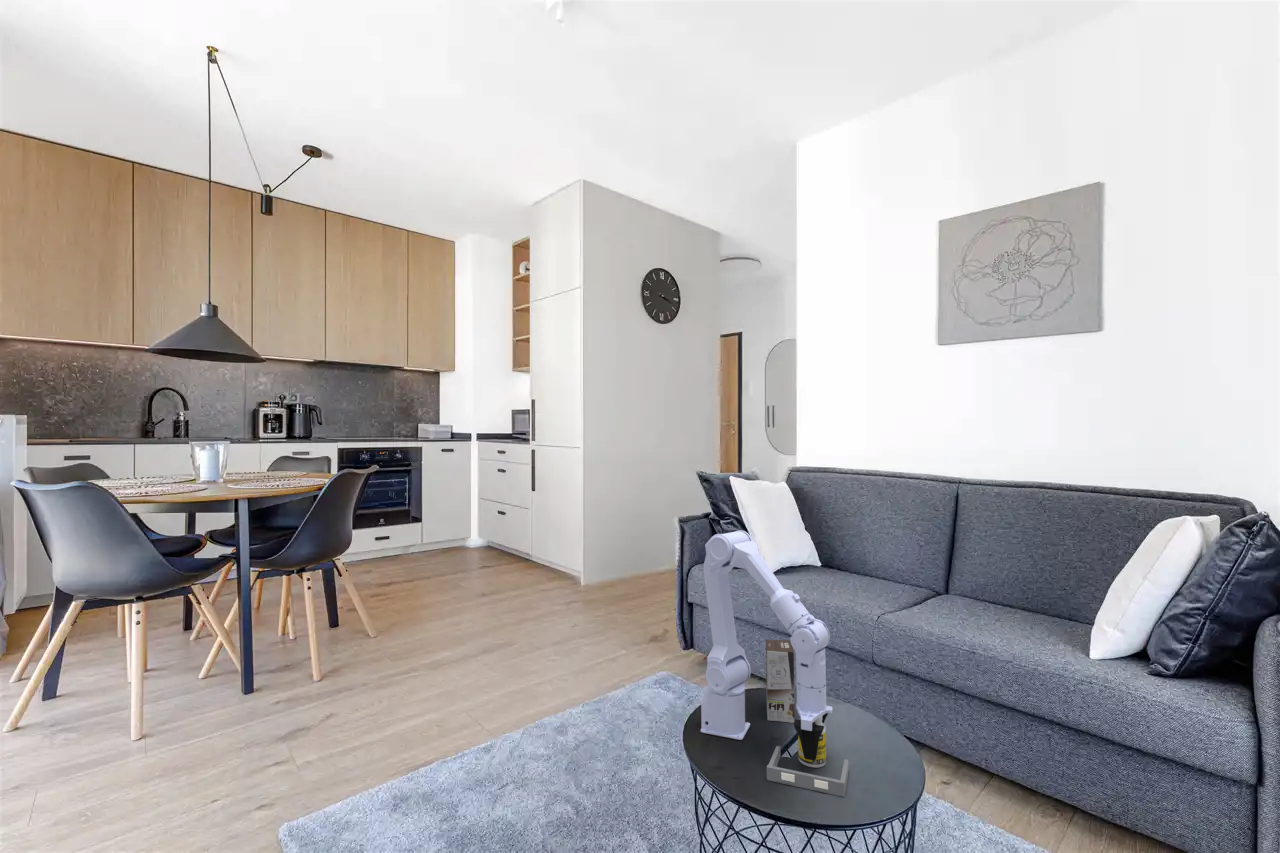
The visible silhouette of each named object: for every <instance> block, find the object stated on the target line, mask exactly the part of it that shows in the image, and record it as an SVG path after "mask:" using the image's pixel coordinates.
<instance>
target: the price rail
mask: <svg viewBox="0 0 1280 853" xmlns="http://www.w3.org/2000/svg"><path fill="white" fill-rule="evenodd" d="M781 752H782V751H781V746H780V745H776V746H775V749H774V751H773V753H772V756H771V758H770V760H769V762H768V764H767V766H766V781H770V782H773V783H774V782H775V783H779V784H783V785H788V786H792V787H798V788H801V789H807V790H811V791H815V792H820V793H824V794H828V795H834V796H837V797H842V798H845V796H846V789H847V783H848V778H849V772H850V763H849V762H850V761H849V759H846V758H844V759H843V764H842V770H841V775H840V779H836V778H832V777H825V776H821V775H816V774H812V773H807V772H802V771H798V770H793V769H789V768H784V767H783V768H782V767H779V766H778V764H779V761H780V759H781V755H782V754H781Z"/></svg>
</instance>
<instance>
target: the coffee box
mask: <svg viewBox="0 0 1280 853" xmlns="http://www.w3.org/2000/svg"><path fill="white" fill-rule="evenodd" d="M765 680H766V681H765V682H766V683H765V685H766V688H765V690H766V694H765V695H766V717H767V721H769V722H770V721H771V722H781V723H782V722H783V723H791V724H794V721H795V650H794V648H793V647H792V644H791V641H790V640H788V639H765Z"/></svg>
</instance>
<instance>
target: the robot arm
mask: <svg viewBox="0 0 1280 853" xmlns="http://www.w3.org/2000/svg"><path fill="white" fill-rule="evenodd" d="M704 547H705V558H704V562H703V577H704V583H705V591H706V599H707V608H708V614H709V623H710V630H711V638H712V639H711V640H712V645H713V646H712V648H711V650H710V652H709V654H708V655H707V657H706V662H707V668H706V670H705V680H706V683H707V685H705V686H704V688H703V690H702V693H701V701H700V704H701V705H700V706H701V708H700V709H701V715H700V716H701V718H700V719H701V721H700V722H701V728H700V733H703V734H708V735H712V736H717V737H724V738H729V739H733V740H739V741H742V740H744V738H745V736H746V734H747V733H748V730H749V729H750V727H751V723H750V722H748V721H747V722H746V693H745V692H746V689H745V688H746V686H747V685H746V684H747V682H748V680H749V679H750V678H751V674H752V671H751V670H752V669H751V665H750V663H749V661H748V659H747V656H746V651H745V649H744V647H742V646H741V645H740V644H738V639H737V631H736V624H735V622H736V621H735V616H734V615H735V614H734V609H733V608H734V606H733V601H732V594H731V586H730V579H729V577H730V576H729V573H730V572H731V571H732V569H733V568H734V567H735V568H739V569H744V570H746V571H747V572H748V574H750V576H751V577H752V578H753V579H754V581H755V582H756V583H757V584H758V585H759V586H760V587H761V589H762V590H763V591H764V592H765V594H766V595H767V596H768V597H769V598H770V604H769V606H770V608H771V610H772V611H773V612H774V614H775V615H776V616H777V618H778V620H780V622H781V623H782V626H784V627H785V629H786V630H787V631H788V633H789V634H790V635H791V636H790V637H789V639H790V640H789V641H791V644H792V647H793V650H794V653H795V660H796V661H795V662H796V663H795V664H796V669H795V670H796V702H795V709H796V711H797V713H798V715H799V718H800V719H797V718H794V723H793V727H794V729H795V731H796V733H797V736H798V735H799V738H800V741H801V746H802V750H803V755H804V758H805V759H809V760H814V761H815V760H816V756H817V750H818V743H819V738H820V736H821V734H822V732H823V730H824V726H821V725H815V723H814V721H815V720H817V719H818V718H820V717H821V716H822V723H823V724H824V725H825V721H826V719H827V716H828V715H829V714H833V706H830V705H827V678H826V677H827V674H826V673H827V669H826V667H827V666H826V663H827V662H826V646H828V645H829V644H830V641H831V640H830V639H831V632H830V630H829V628H828V627H827V625H826V623H825V622H823V621H822V620H820V619H819V618H818V619H817V618H815V616H814V615H813V614H810V612H809V611H808V609H806V606H804V604H803V603H802V601H801V597H800V596H799V594H798V593H794V591H793V590H792V589H791V590H790V589H787V588H786V589H785V588H784V587H783V585H782V584H781V583H780V581H779V580H778V578H777V577H776V575H775V573H774V572H773V571H772V570H771V568H770V566H769V565H768V564H767V562H766V561H765V559H764V557H763V556H762V555H761V553H760V551H759V547H758V544H757V543H756V542H755V541H754V540H753V538H752V536H751V535H750V534H749V533H748V532H747V531H745V530H741V529H739V530H736V531H732V532H726V533H716V534H714V535H713V536H711V537H710V539H708V541H707V542H706V543H705V545H704Z"/></svg>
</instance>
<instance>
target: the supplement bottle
mask: <svg viewBox="0 0 1280 853" xmlns="http://www.w3.org/2000/svg"><path fill="white" fill-rule="evenodd" d="M814 723H815V725H821V726H824V730H823V732H822V734H821V736H820V738H819V743H818V750H817V756H816V760H815V761H814V760H809V759H805V758H804V755H803V750H802V746H801V741H800V738H799V735H798V734H797V746H798V748H797V749H798V750H797V751H798V752H797V753H798V754H797V756H798V757H797V758H798V761H799V762H800V763H801V764H802V765H804V766H807V767H809V768H813V769H814V768H815V769H818V768H822V767H824V766H826V763H827V727H826V724H825V723H824V724H823V723H822V716H821V717H820V718H818V719H817V720H815V721H814Z"/></svg>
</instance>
